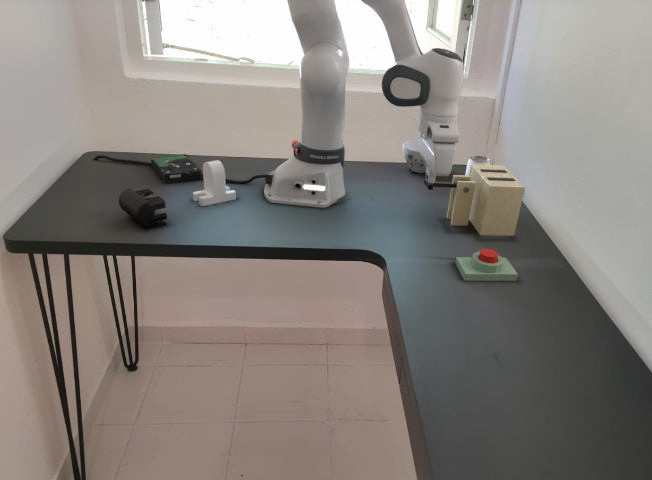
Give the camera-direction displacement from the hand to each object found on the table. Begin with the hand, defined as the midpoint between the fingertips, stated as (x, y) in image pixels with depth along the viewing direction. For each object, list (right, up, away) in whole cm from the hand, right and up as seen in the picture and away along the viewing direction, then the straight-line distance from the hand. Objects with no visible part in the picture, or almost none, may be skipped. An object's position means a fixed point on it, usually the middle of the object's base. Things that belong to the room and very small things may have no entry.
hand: (430, 181), depth 147 cm
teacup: (+1, +13, +43) cm, 45 cm away
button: (+12, -21, -14) cm, 28 cm away
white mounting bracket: (-56, -3, +9) cm, 56 cm away
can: (+14, 0, +26) cm, 29 cm away
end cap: (-68, -11, -6) cm, 69 cm away
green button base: (+11, -23, -13) cm, 29 cm away
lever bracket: (+8, -10, +8) cm, 15 cm away
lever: (+4, -2, +2) cm, 5 cm away
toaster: (+16, -10, +9) cm, 21 cm away
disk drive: (-70, +7, +22) cm, 74 cm away
